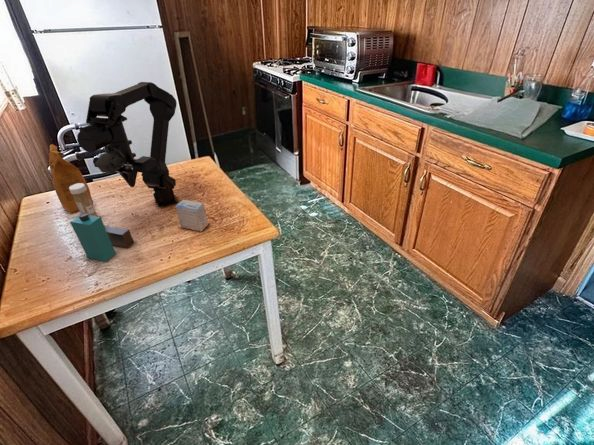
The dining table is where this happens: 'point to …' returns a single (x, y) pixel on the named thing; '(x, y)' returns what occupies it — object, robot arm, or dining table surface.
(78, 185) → the sprinkles bottle
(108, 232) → the walnut block
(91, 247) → the plastic bottle
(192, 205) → the medicine box
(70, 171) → the coffee package
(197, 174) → the dining table surface
